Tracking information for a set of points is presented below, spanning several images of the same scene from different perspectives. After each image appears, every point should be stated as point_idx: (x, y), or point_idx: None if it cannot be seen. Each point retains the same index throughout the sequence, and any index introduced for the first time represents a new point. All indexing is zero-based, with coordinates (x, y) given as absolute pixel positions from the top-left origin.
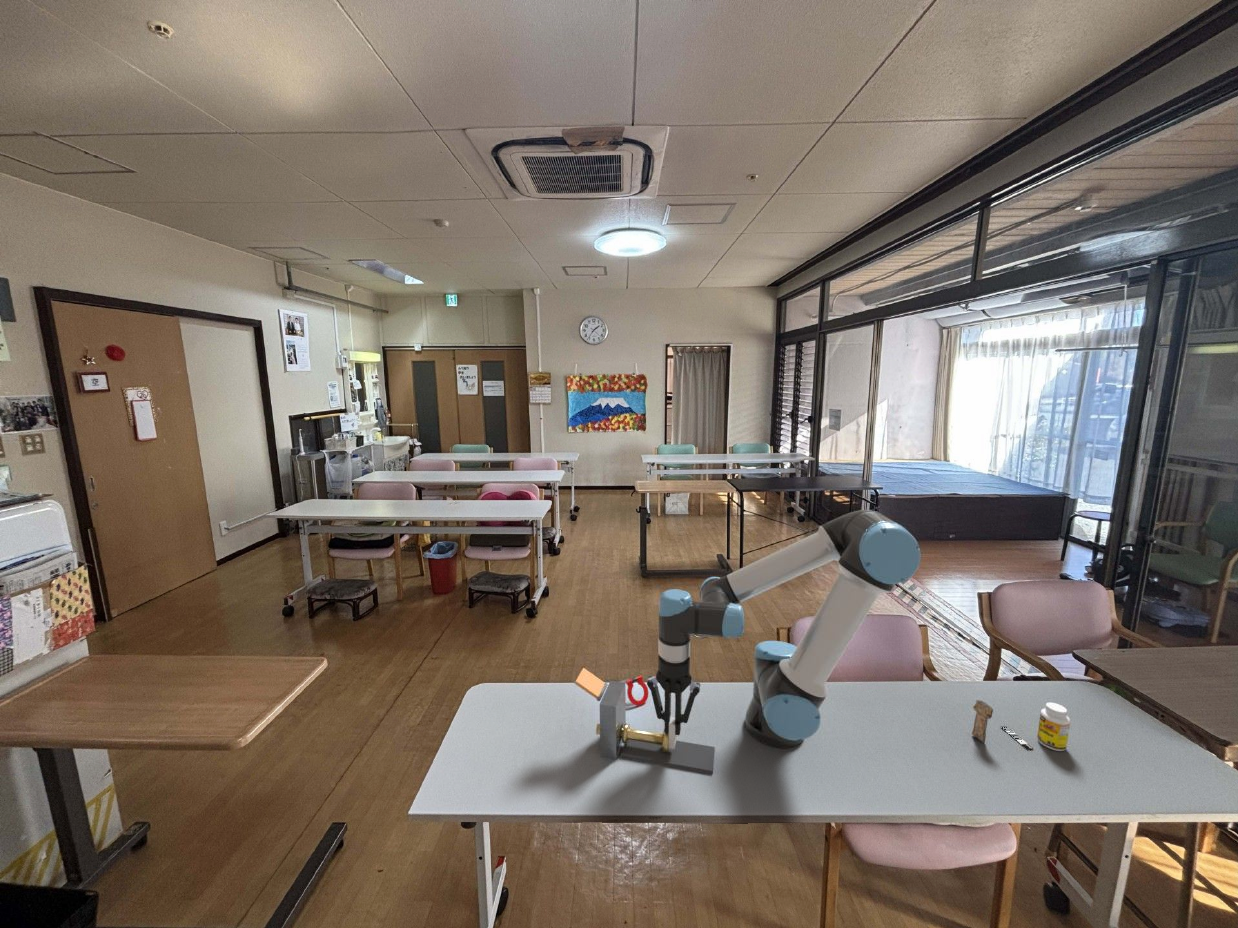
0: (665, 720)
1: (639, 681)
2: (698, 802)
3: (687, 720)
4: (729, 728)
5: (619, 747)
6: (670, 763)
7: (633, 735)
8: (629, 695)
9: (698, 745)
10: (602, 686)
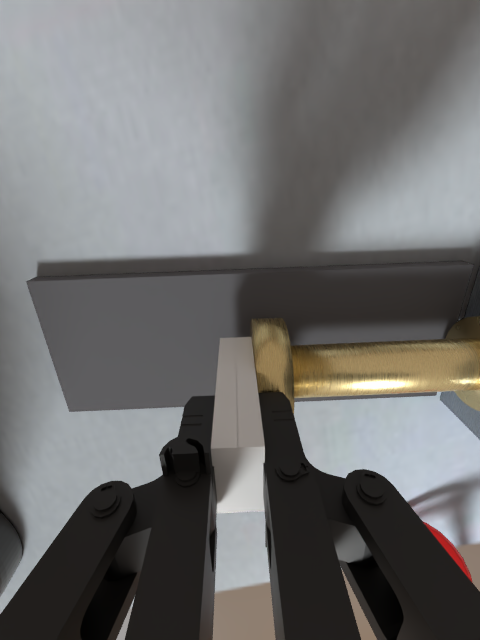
0: (301, 467)
1: None
2: (31, 54)
3: (75, 513)
4: (60, 500)
5: (476, 307)
6: (230, 273)
7: (455, 352)
8: (452, 553)
9: (135, 402)
10: None
